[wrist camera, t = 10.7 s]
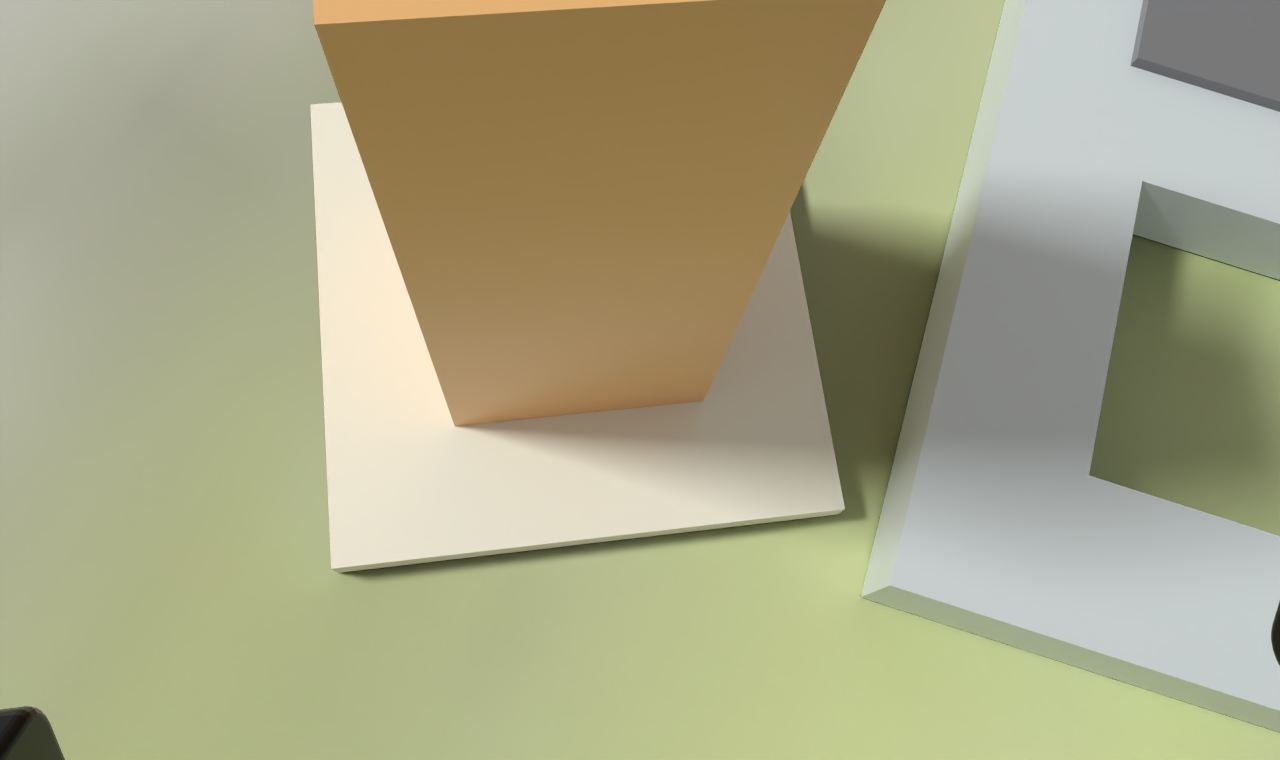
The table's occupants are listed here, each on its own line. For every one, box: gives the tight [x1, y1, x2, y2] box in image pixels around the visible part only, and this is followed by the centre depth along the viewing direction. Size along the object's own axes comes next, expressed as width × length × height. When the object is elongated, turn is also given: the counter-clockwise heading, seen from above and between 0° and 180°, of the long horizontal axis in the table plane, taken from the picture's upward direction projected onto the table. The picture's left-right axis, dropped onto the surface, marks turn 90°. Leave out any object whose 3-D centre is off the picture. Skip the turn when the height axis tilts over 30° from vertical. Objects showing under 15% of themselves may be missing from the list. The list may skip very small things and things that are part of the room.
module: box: [313, 0, 886, 426], centre depth 16 cm, size 5×5×13 cm
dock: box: [861, 0, 1280, 732], centre depth 23 cm, size 18×13×2 cm
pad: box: [311, 102, 845, 573], centre depth 23 cm, size 10×10×1 cm
